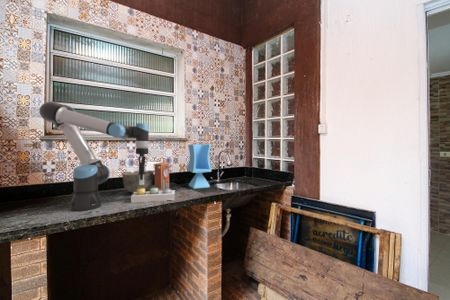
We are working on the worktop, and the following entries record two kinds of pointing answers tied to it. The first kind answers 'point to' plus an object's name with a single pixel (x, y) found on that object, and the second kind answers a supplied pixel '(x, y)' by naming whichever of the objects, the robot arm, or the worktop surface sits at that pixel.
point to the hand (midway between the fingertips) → (141, 184)
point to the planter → (199, 165)
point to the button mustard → (141, 191)
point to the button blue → (166, 191)
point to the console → (152, 197)
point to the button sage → (153, 190)
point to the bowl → (137, 180)
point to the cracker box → (162, 176)
